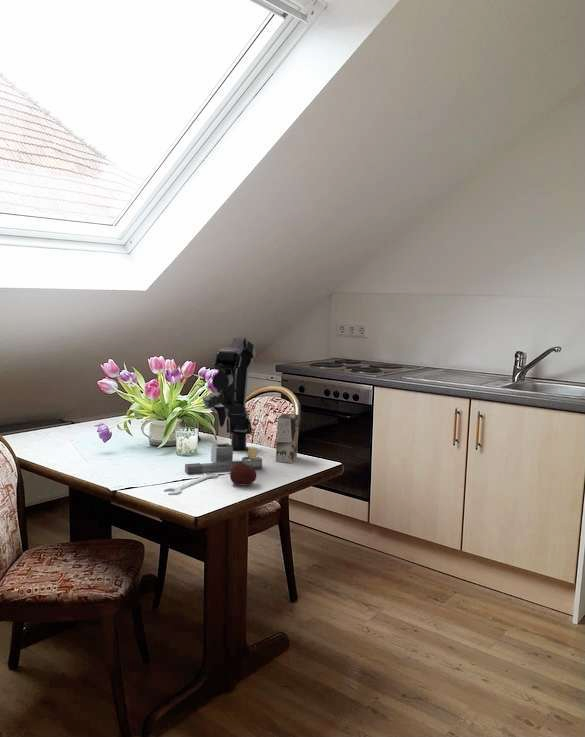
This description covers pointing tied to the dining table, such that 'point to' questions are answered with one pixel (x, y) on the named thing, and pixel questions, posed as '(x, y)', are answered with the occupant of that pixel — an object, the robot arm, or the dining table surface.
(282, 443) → the coffee box
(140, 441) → the dining table surface
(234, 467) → the potato
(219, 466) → the ratchet
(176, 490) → the wrench
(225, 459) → the socket
